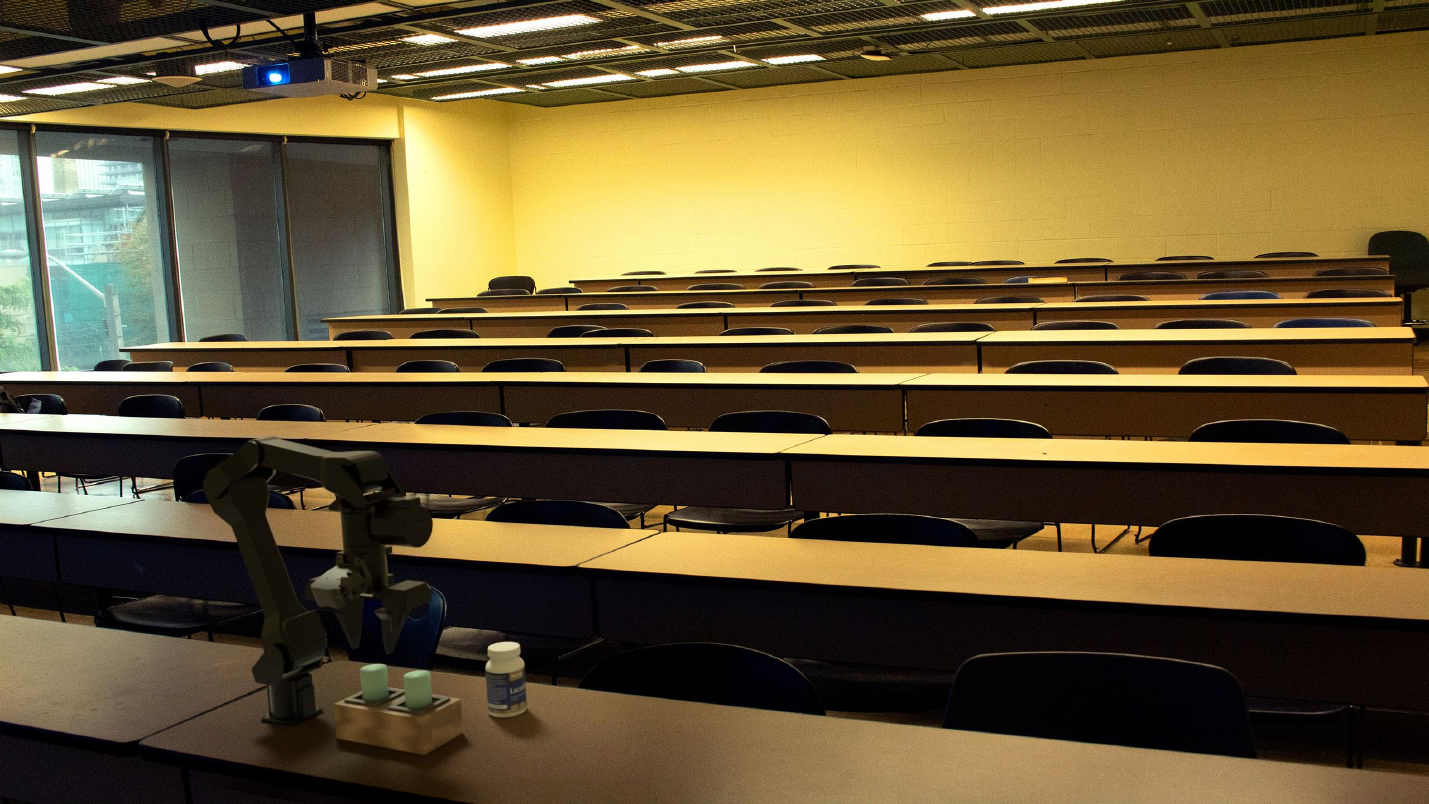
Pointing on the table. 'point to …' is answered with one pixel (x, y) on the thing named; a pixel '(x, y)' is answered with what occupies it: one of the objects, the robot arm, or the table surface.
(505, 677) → the pill bottle
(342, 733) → the socket block
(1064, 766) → the table surface
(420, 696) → the plunger
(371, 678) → the plunger
